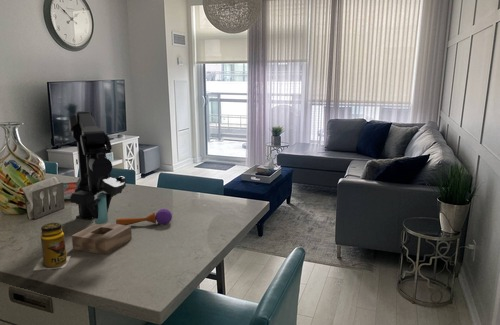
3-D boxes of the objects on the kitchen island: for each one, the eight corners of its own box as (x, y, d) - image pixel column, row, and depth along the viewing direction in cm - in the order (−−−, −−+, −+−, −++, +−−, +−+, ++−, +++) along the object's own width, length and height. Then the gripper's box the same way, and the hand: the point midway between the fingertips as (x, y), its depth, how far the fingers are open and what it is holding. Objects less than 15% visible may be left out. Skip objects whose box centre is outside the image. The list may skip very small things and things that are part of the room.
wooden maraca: (117, 213, 143) (171, 206, 146) (119, 229, 143) (172, 222, 146) (114, 216, 137) (170, 208, 140) (116, 232, 137) (172, 224, 140)
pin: (92, 223, 123) (89, 196, 121) (100, 219, 126) (98, 193, 124) (102, 224, 121) (100, 198, 119) (110, 220, 125) (108, 194, 123)
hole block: (72, 248, 121) (71, 235, 120) (100, 233, 133) (99, 221, 132) (106, 254, 117) (104, 241, 116) (131, 238, 129) (131, 226, 128)
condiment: (65, 267, 109) (60, 228, 106) (32, 271, 107) (27, 231, 105) (70, 256, 116) (66, 219, 113) (40, 259, 114) (36, 222, 112)
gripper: (97, 179, 109) (101, 229, 112) (136, 165, 126) (138, 210, 129) (66, 175, 112) (71, 225, 116) (108, 163, 130) (112, 206, 133)
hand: (100, 216), depth 123 cm, fingers closed on pin, 4 cm apart
